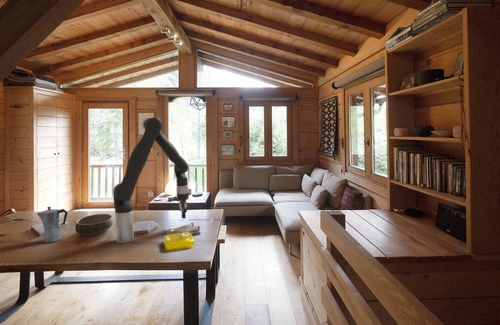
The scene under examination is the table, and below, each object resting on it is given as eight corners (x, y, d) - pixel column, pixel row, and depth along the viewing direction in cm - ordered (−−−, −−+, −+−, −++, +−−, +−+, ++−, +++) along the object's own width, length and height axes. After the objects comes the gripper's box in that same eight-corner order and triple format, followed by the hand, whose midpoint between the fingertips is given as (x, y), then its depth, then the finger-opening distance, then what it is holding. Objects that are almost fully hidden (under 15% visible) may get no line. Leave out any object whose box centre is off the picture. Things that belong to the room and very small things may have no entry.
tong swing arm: (175, 232, 170) (175, 229, 170) (173, 232, 171) (173, 228, 170) (194, 226, 181) (193, 223, 181) (192, 226, 182) (192, 222, 182)
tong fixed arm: (169, 235, 165) (169, 231, 165) (168, 233, 169) (167, 229, 169) (200, 230, 174) (199, 226, 174) (197, 228, 178) (197, 224, 178)
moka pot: (41, 239, 166) (38, 205, 164) (71, 235, 171) (69, 203, 169) (35, 244, 157) (32, 209, 155) (67, 241, 162) (65, 207, 160)
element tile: (163, 242, 161) (163, 234, 160) (190, 238, 166) (189, 230, 166) (165, 252, 147) (165, 243, 146) (194, 248, 152) (194, 239, 152)
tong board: (170, 239, 163) (170, 237, 163) (166, 233, 173) (165, 231, 173) (200, 234, 172) (200, 231, 172) (194, 228, 182) (194, 226, 182)
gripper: (174, 191, 185) (175, 216, 187) (179, 194, 174) (180, 221, 176) (185, 189, 189) (186, 214, 191) (191, 193, 178) (192, 219, 180)
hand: (183, 218), depth 183 cm, fingers closed
